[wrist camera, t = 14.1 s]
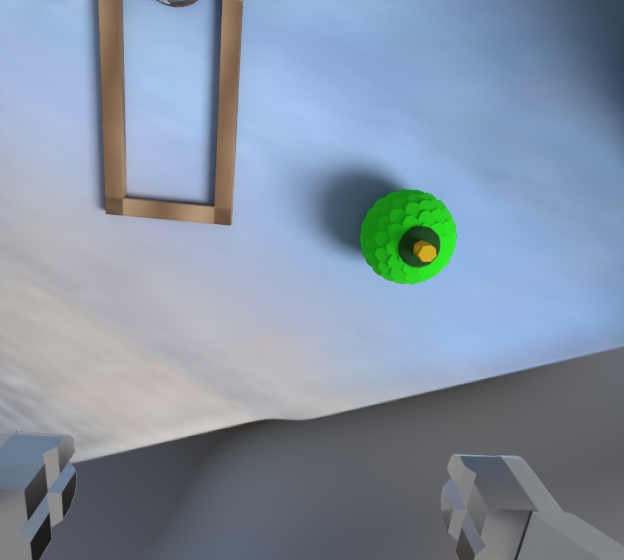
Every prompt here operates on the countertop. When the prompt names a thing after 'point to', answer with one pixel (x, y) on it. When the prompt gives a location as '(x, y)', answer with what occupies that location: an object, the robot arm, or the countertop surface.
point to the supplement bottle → (177, 2)
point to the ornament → (408, 236)
